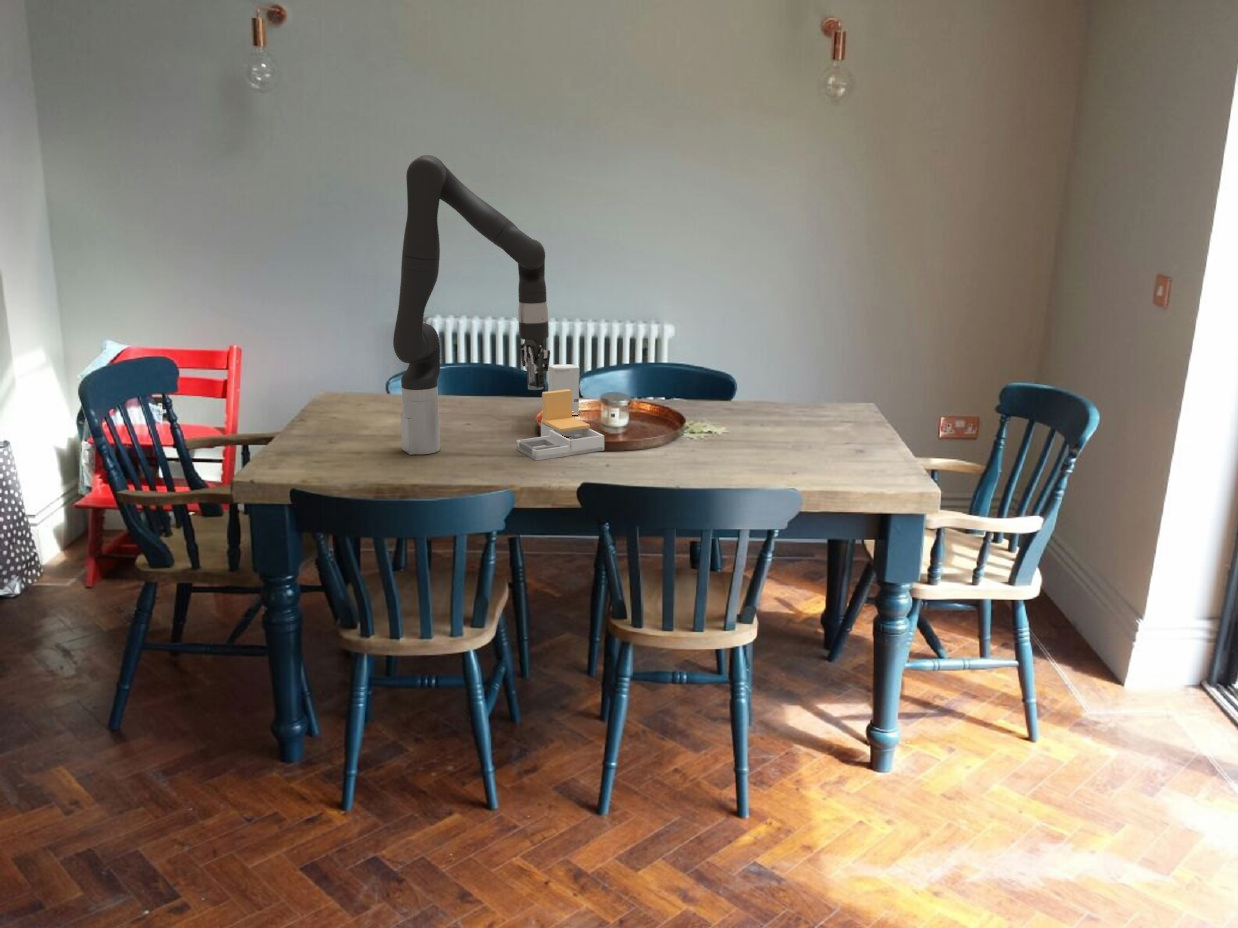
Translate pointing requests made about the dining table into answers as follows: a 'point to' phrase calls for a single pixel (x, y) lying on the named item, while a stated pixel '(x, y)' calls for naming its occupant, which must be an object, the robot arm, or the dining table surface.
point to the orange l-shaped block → (560, 411)
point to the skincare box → (565, 381)
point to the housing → (560, 443)
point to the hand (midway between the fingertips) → (535, 385)
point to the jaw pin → (532, 376)
